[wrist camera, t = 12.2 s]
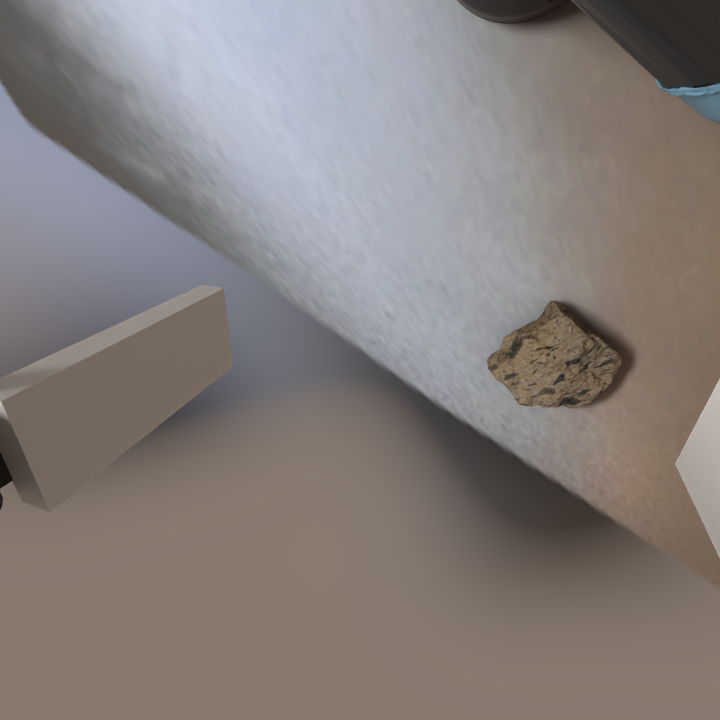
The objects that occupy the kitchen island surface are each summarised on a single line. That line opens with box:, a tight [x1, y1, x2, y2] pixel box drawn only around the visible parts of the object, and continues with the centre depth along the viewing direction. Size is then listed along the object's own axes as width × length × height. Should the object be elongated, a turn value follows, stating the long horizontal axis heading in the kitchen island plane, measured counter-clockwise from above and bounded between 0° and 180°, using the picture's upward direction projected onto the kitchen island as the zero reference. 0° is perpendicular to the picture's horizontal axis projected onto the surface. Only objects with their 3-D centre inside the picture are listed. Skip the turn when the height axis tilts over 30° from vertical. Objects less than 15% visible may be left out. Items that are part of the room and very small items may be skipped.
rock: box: [487, 301, 622, 408], centre depth 46 cm, size 11×12×4 cm
